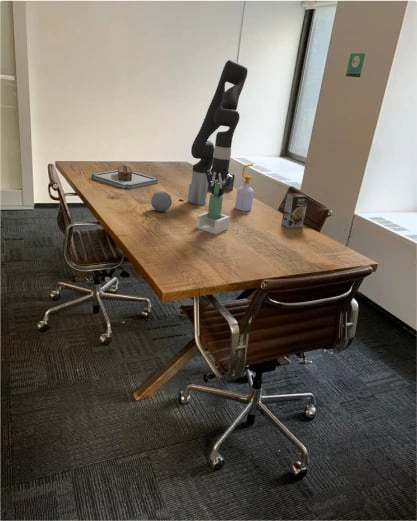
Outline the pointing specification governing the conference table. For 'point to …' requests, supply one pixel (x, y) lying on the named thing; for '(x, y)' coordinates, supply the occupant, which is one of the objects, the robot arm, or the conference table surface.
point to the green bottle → (215, 204)
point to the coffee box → (294, 210)
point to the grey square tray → (124, 178)
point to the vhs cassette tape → (225, 182)
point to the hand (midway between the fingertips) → (216, 195)
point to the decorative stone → (161, 201)
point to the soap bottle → (244, 194)
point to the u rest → (212, 223)
